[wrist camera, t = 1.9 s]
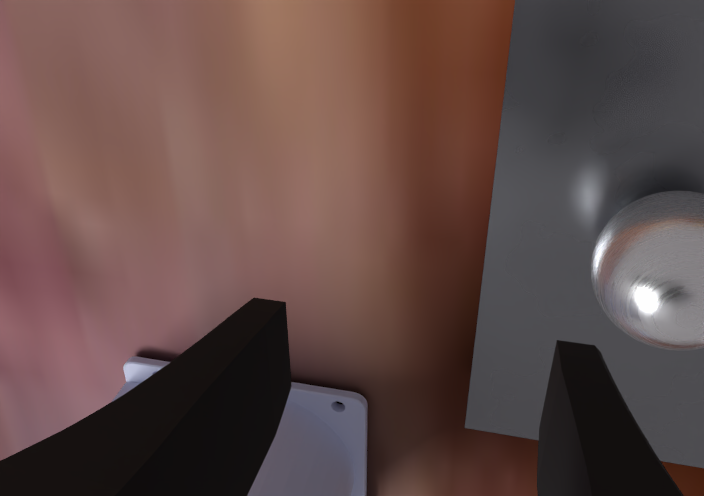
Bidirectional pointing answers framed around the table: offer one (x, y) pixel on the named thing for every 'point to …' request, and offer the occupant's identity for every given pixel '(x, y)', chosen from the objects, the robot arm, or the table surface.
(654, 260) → the steel ball
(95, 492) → the robot arm
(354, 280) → the table surface
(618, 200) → the hole plate
